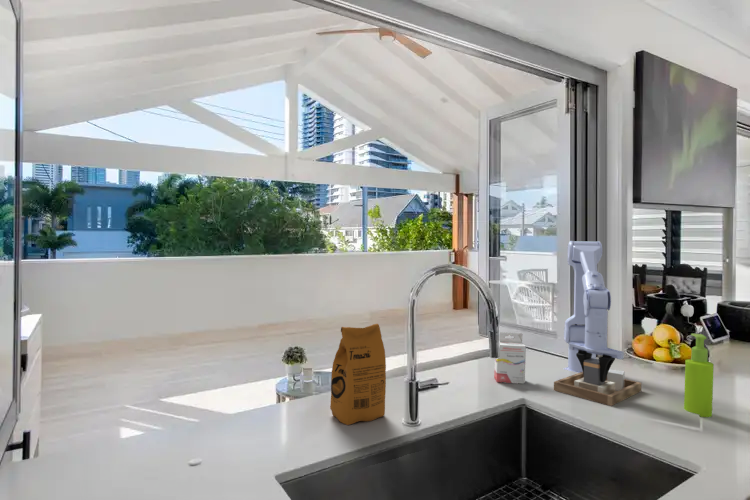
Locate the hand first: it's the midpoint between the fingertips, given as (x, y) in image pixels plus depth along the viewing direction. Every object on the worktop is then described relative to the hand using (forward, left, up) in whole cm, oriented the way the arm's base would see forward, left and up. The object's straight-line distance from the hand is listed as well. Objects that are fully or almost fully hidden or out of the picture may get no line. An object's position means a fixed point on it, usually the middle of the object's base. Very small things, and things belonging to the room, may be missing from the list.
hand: (594, 379), depth 131 cm
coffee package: (+64, -28, -4) cm, 70 cm away
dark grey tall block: (+1, 0, -2) cm, 2 cm away
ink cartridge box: (+9, -22, -4) cm, 24 cm away
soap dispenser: (-7, +23, -4) cm, 24 cm away
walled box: (-2, 0, -4) cm, 5 cm away
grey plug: (-8, +3, -4) cm, 9 cm away
